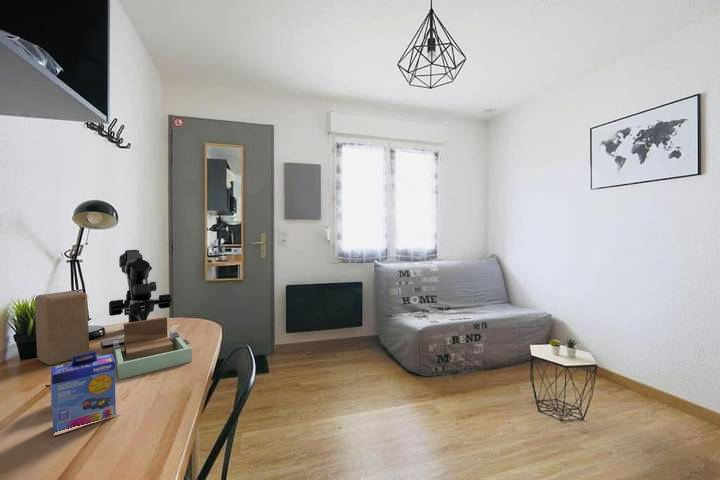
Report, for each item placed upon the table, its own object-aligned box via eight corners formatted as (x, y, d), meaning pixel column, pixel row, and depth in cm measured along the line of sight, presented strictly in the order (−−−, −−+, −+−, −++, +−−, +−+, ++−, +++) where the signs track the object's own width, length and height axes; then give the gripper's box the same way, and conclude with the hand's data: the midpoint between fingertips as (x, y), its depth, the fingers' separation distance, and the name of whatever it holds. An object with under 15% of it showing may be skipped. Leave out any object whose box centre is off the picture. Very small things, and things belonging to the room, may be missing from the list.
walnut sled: (124, 350, 105) (123, 323, 105) (166, 342, 113) (165, 316, 112) (127, 361, 96) (126, 332, 95) (173, 351, 103) (172, 324, 103)
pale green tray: (102, 351, 103) (101, 339, 103) (182, 336, 118) (182, 325, 118) (104, 382, 82) (104, 367, 82) (203, 358, 97) (202, 345, 97)
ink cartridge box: (52, 439, 60) (49, 362, 59) (52, 426, 64) (49, 354, 63) (118, 417, 67) (115, 348, 66) (114, 406, 71) (112, 342, 70)
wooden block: (90, 355, 101) (88, 292, 100) (48, 367, 92) (45, 298, 91) (77, 349, 106) (75, 289, 105) (36, 360, 97) (33, 295, 97)
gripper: (108, 277, 109) (110, 315, 101) (170, 272, 121) (177, 306, 113) (107, 297, 115) (110, 334, 107) (167, 290, 127) (173, 323, 119)
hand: (144, 324), depth 112 cm, fingers closed
